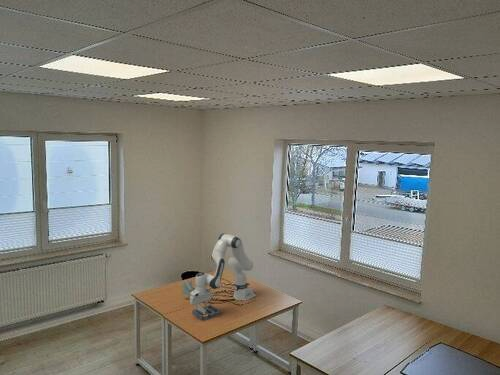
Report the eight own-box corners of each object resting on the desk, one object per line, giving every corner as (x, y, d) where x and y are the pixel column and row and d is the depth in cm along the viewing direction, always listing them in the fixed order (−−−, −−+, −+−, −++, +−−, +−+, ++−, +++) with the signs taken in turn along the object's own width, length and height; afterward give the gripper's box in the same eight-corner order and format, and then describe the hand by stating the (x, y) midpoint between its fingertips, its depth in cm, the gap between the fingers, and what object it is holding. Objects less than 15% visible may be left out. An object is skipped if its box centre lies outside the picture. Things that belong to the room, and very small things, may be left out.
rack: (210, 308, 350) (210, 304, 349) (221, 314, 337) (221, 310, 336) (192, 314, 338) (192, 309, 338) (202, 321, 325) (202, 316, 324)
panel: (198, 312, 339) (198, 304, 338) (206, 317, 330) (205, 309, 329) (196, 313, 337) (196, 305, 337) (203, 318, 328) (203, 310, 327)
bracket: (209, 303, 361) (209, 282, 359) (206, 306, 355) (205, 285, 352) (184, 298, 372) (184, 278, 369) (180, 301, 365) (180, 280, 363)
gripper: (208, 287, 340) (209, 302, 342) (188, 293, 327) (189, 308, 329) (212, 289, 335) (213, 304, 337) (192, 295, 323) (192, 311, 324)
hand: (201, 306), depth 333 cm, fingers open, 8 cm apart
